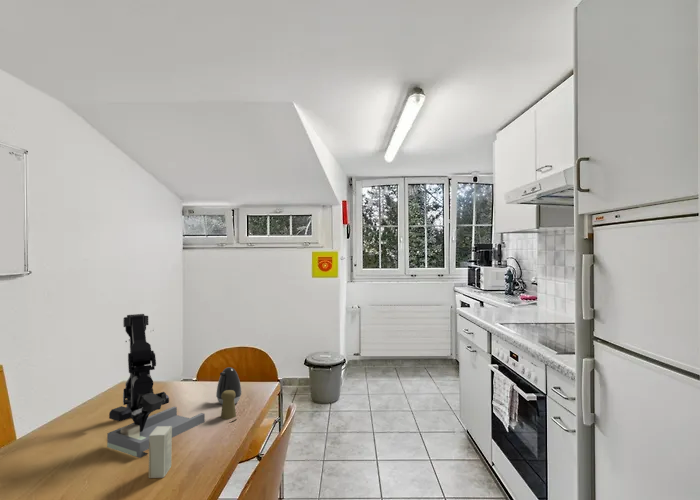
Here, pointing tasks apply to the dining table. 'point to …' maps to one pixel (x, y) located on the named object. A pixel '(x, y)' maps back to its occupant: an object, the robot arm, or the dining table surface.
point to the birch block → (131, 431)
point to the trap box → (159, 419)
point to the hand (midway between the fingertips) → (140, 431)
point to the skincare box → (160, 451)
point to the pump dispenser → (228, 384)
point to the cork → (228, 405)
